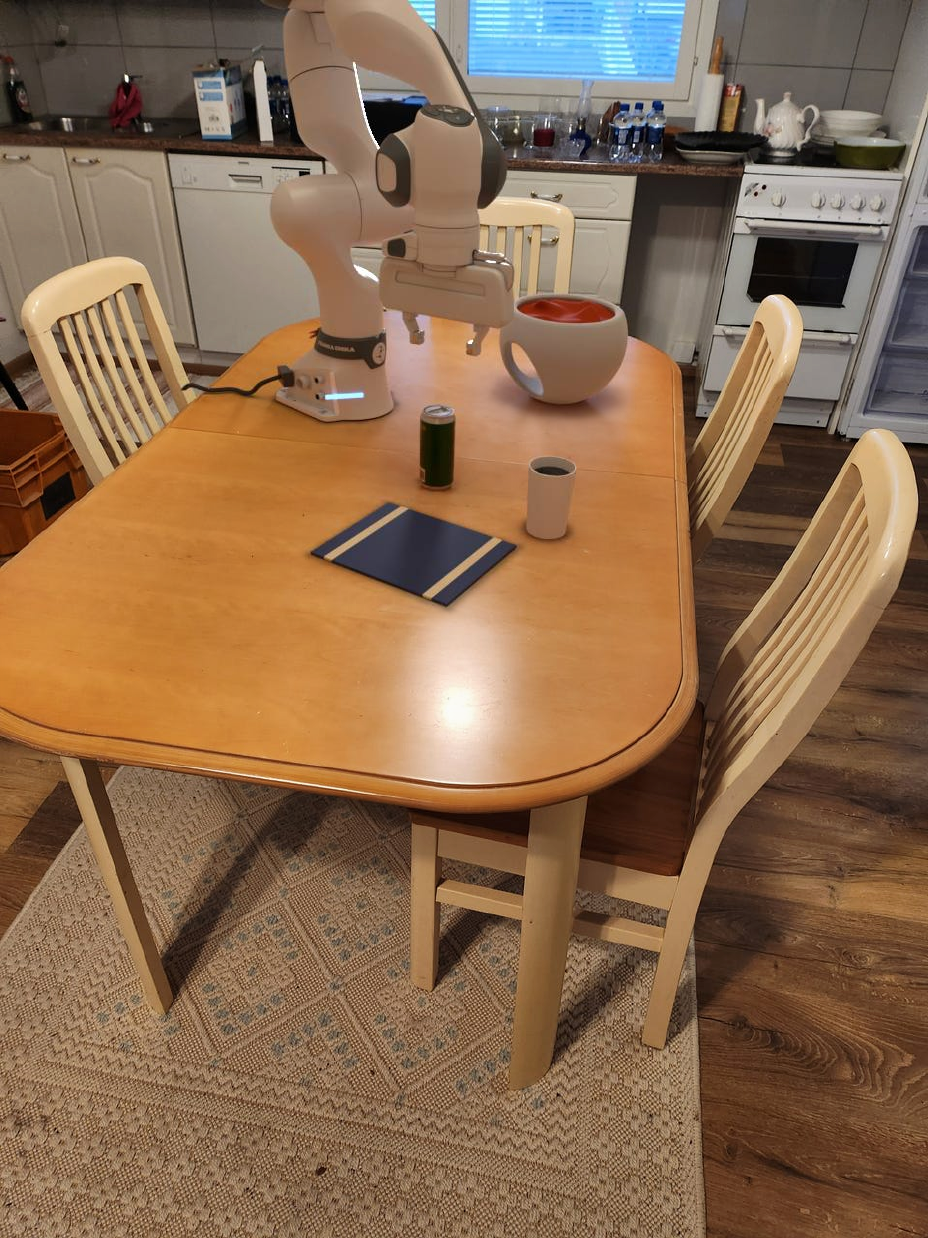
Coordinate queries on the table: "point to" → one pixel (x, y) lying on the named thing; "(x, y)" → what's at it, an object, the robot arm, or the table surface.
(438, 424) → the green drink can
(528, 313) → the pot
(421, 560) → the cloth
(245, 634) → the table surface
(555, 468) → the white coffee cup
